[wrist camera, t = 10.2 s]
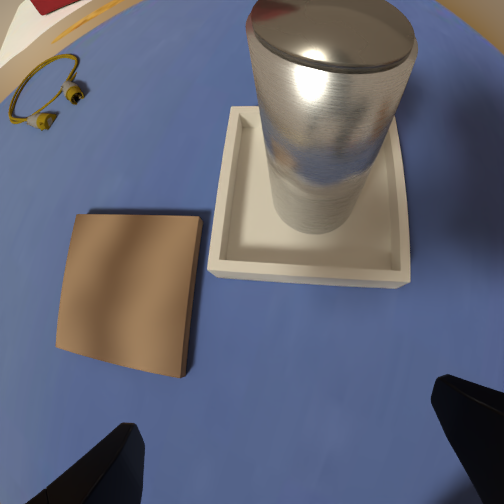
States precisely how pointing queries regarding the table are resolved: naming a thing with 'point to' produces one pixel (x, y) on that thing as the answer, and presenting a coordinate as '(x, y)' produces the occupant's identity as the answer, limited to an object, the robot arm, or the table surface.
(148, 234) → the walnut board
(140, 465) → the robot arm
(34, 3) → the storage cube
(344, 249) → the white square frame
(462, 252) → the table surface
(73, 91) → the extension cord
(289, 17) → the shiny metal canister
